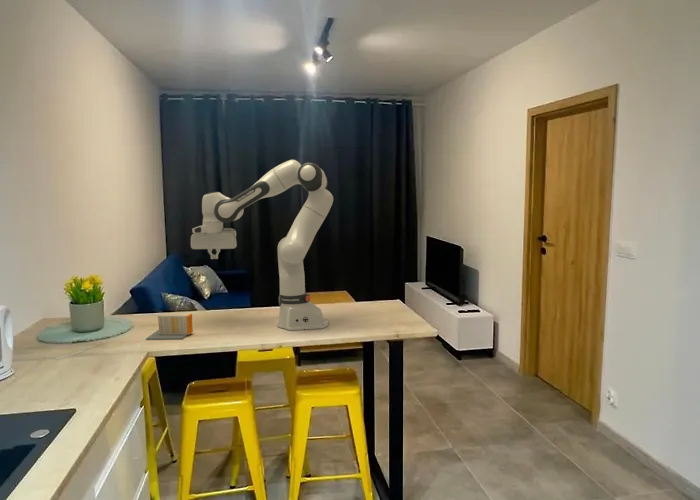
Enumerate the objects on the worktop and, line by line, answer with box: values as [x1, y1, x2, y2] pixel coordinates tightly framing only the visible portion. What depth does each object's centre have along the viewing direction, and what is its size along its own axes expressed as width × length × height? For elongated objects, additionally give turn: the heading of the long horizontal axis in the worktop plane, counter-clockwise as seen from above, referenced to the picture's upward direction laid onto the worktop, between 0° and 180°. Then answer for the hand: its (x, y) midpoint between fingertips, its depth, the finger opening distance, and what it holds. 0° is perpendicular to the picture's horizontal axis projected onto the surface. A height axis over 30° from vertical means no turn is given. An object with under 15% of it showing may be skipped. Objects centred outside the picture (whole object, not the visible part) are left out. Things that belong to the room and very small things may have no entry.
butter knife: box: [54, 349, 86, 360], centre depth 197 cm, size 1×24×3 cm
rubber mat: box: [145, 329, 188, 341], centre depth 216 cm, size 15×13×1 cm
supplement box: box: [157, 312, 194, 336], centre depth 216 cm, size 8×5×13 cm
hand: (214, 258), depth 234 cm, fingers closed
